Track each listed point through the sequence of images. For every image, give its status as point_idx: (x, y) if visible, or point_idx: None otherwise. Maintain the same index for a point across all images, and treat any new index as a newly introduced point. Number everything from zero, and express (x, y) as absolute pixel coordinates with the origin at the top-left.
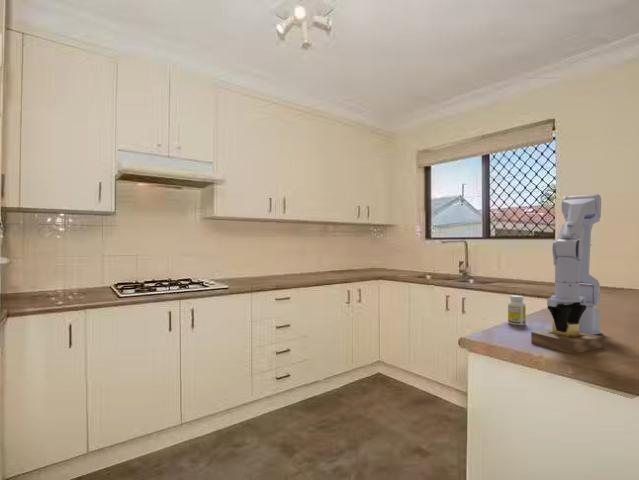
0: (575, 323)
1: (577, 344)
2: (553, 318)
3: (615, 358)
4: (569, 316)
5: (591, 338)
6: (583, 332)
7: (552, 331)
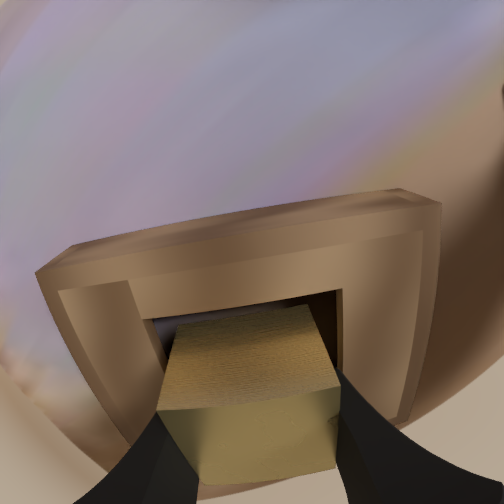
0: (312, 466)
1: None
2: (119, 463)
3: None
4: (356, 468)
5: None
6: (424, 352)
7: (222, 299)
